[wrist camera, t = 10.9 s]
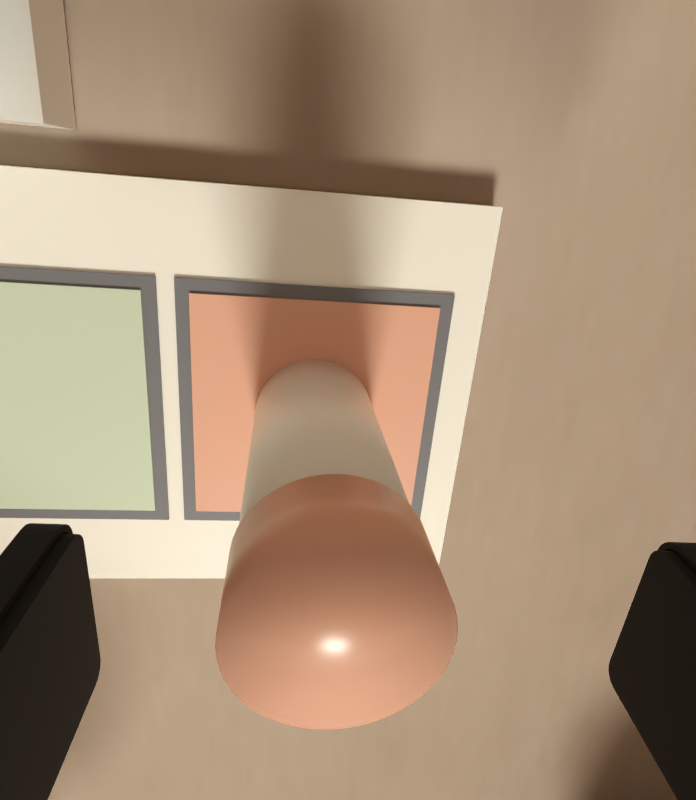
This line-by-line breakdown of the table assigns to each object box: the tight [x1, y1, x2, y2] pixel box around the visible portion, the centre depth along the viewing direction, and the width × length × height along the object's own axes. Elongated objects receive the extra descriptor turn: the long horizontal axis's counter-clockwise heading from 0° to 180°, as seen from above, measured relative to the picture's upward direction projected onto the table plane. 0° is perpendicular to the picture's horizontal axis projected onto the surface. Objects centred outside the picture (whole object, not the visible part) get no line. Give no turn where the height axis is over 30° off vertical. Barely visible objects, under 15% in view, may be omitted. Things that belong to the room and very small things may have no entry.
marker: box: [215, 360, 458, 729], centre depth 13 cm, size 4×4×9 cm
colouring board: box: [0, 165, 503, 578], centre depth 17 cm, size 18×13×1 cm
